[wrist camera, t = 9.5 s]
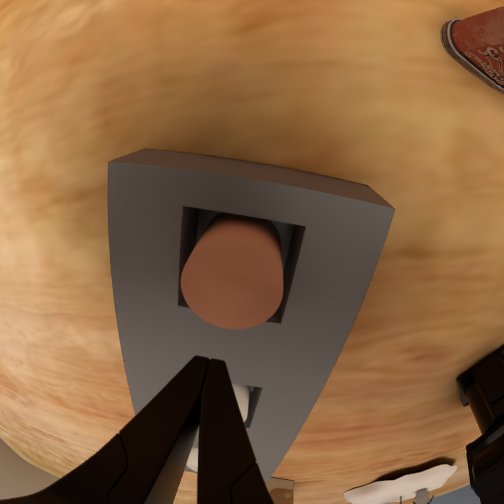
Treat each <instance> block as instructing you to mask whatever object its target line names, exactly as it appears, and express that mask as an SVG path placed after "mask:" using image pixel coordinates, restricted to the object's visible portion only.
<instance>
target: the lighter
mask: <svg viewBox="0 0 504 504" xmlns="http://www.w3.org/2000/svg"><path fill="white" fill-rule="evenodd" d="M441 40H442V43H443V46H444V48H445V50H446V51H447V53H448V54H449V55H450V56H451V57H452V58H453V59H455V60H456V61H457V62H458V63H460V64H461V65H462V66H463V67H465V68H466V69H467V70H468V71H469V72H471V73H472V74H473V75H475V76H476V77H478V78H479V79H480V80H482V81H483V82H485V83H486V84H487V85H489V86H490V87H492V88H494V89H495V90H497V91H499V92H500V93H502V94H504V7H500V8H497V9H493V10H490V11H487V12H484V13H481V14H478V15H475V16H472V17H469V18H466V19H459V18H457V19H454V20H451V21H448V22H446V23H445V24H444V25H443V26H442V30H441Z"/></svg>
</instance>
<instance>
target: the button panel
mask: <svg viewBox="0 0 504 504" xmlns="http://www.w3.org/2000/svg"><path fill="white" fill-rule="evenodd" d="M394 211H395V208H393V207H392V206H391V205H390V204H389V203H388V202H387V201H385V200H384V199H383V198H382V197H381V196H380V195H379V194H377V193H376V192H375V191H374V190H373V189H371V188H370V187H369V186H368V185H364V184H359V183H355V182H351V181H347V180H342V179H338V178H334V177H329V176H324V175H320V174H315V173H310V172H305V171H300V170H295V169H290V168H284V167H279V166H273V165H268V164H262V163H256V162H250V161H243V160H237V159H230V158H223V157H216V156H208V155H200V154H192V153H183V152H174V151H164V150H153V149H143V150H140V151H137V152H134V153H131V154H128V155H125V156H122V157H120V158H117V159H114V160H112V161H109V162H108V229H109V249H110V263H111V275H112V285H113V295H114V303H115V311H116V319H117V325H118V332H119V338H120V344H121V350H122V356H123V361H124V366H125V371H126V376H127V381H128V386H129V390H130V394H131V399H132V403H133V407H134V411H135V415H136V414H137V413H138V412H139V411H140V410H141V409H142V408H143V407H144V406H145V405H146V404H147V403H148V402H149V401H150V400H151V399H152V398H153V397H154V396H155V395H156V394H157V393H158V392H159V391H160V390H161V389H162V388H163V387H164V386H165V385H166V384H167V383H168V382H169V381H170V380H171V379H172V378H173V377H174V376H175V375H176V374H177V373H178V372H179V371H180V370H181V369H182V368H183V367H184V366H185V365H186V364H187V363H188V362H189V361H190V360H191V359H192V358H193V357H194V356H195V355H199V356H204V357H208V358H209V359H211V358H215V359H221V360H224V361H225V362H226V365H227V369H228V372H229V375H230V379H231V382H232V383H235V384H241V385H248V386H250V393H249V404H248V414H247V419H246V420H245V422H244V424H245V427H246V430H247V433H248V436H249V439H250V442H251V445H252V448H253V451H254V454H255V457H256V460H257V462H256V463H258V465H259V468H260V471H261V474H262V476H263V479H264V481H265V482H266V483H267V482H268V481H269V479H270V478H271V476H272V475H273V473H274V472H275V470H276V469H277V467H278V466H279V464H280V462H281V461H282V459H283V458H284V456H285V454H286V453H287V451H288V450H289V448H290V446H291V445H292V443H293V441H294V440H295V438H296V436H297V435H298V433H299V431H300V429H301V428H302V426H303V424H304V422H305V421H306V419H307V417H308V415H309V413H310V412H311V410H312V408H313V406H314V404H315V402H316V401H317V399H318V397H319V395H320V393H321V391H322V389H323V387H324V385H325V383H326V381H327V379H328V377H329V375H330V373H331V371H332V369H333V367H334V365H335V363H336V361H337V359H338V357H339V355H340V352H341V350H342V348H343V346H344V344H345V341H346V339H347V337H348V335H349V333H350V330H351V328H352V326H353V323H354V321H355V319H356V316H357V314H358V312H359V309H360V307H361V304H362V302H363V299H364V297H365V294H366V292H367V289H368V287H369V284H370V281H371V279H372V276H373V273H374V271H375V268H376V265H377V262H378V260H379V257H380V254H381V251H382V248H383V245H384V242H385V239H386V236H387V233H388V230H389V227H390V224H391V221H392V217H393V214H394ZM221 212H226V213H232V214H238V215H244V216H250V217H256V218H262V219H268V220H271V221H272V223H273V224H274V225H275V227H276V228H277V230H278V232H279V235H280V238H281V245H282V267H283V297H282V300H281V303H280V305H279V307H278V309H277V310H276V312H275V313H274V314H273V315H272V316H271V317H270V318H269V319H268V320H266V321H265V322H263V323H261V324H259V325H257V326H254V327H251V328H246V329H226V328H221V327H218V326H215V325H212V324H210V323H208V322H206V321H205V320H203V319H201V318H200V317H199V316H198V315H196V314H195V313H194V312H193V311H192V309H191V308H190V307H189V305H188V304H187V302H186V300H185V298H184V296H183V293H182V289H181V275H182V271H183V269H184V266H185V264H186V262H187V261H188V259H189V257H190V255H191V253H192V251H193V250H194V248H195V246H196V244H197V242H198V241H199V239H200V237H201V235H202V233H203V232H204V230H205V228H206V226H207V225H208V223H209V222H210V221H211V220H212V219H213V218H214V217H215V216H216V215H218V214H219V213H221ZM198 438H199V428H198V431H197V434H196V437H195V440H194V443H193V446H192V447H194V448H198ZM184 471H189V472H194V473H197V472H196V471H194V470H192V469H190V468H189V467H187V465H186V466H185V469H184Z"/></svg>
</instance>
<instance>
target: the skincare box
mask: <svg viewBox="0 0 504 504" xmlns="http://www.w3.org/2000/svg"><path fill="white" fill-rule="evenodd" d="M265 484H266V486H267V489H268V491H269V493H270V495H271V497H272V499H273V501H274V503H275V504H293V481H290V480H283V479H277V478H270V479H269V481H268V482H267V483H266V482H265Z"/></svg>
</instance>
